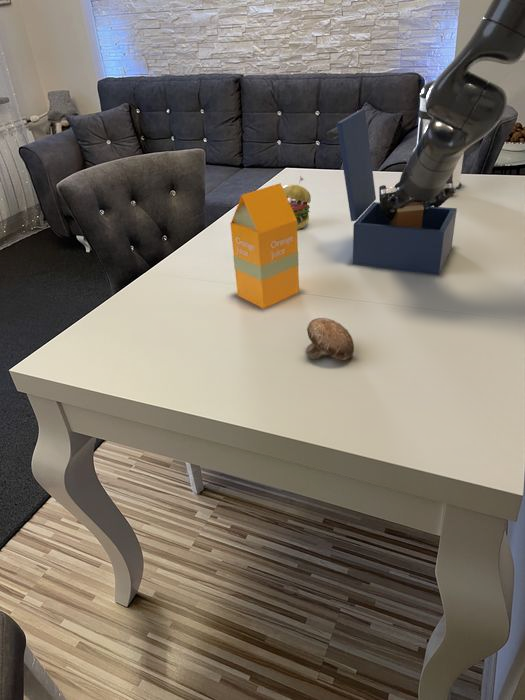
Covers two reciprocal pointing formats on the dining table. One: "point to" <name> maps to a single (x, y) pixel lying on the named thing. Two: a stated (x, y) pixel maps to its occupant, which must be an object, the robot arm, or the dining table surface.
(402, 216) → the carton
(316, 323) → the mushroom
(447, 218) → the dark blue open box
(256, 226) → the orange juice
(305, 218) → the hamburger
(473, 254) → the dining table surface
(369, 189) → the navy box lid
